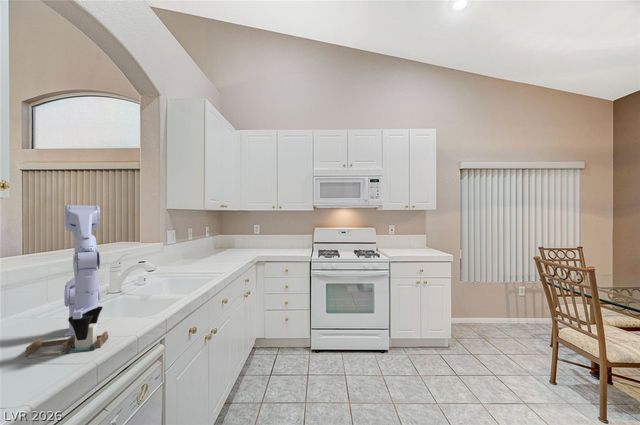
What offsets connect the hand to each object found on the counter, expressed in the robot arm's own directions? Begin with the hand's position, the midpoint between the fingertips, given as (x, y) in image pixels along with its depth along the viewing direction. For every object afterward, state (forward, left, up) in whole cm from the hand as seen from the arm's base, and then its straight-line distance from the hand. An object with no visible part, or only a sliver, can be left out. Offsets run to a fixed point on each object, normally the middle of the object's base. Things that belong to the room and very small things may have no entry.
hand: (86, 335), depth 95 cm
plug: (0, 0, -3) cm, 3 cm away
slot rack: (0, -4, -3) cm, 5 cm away
